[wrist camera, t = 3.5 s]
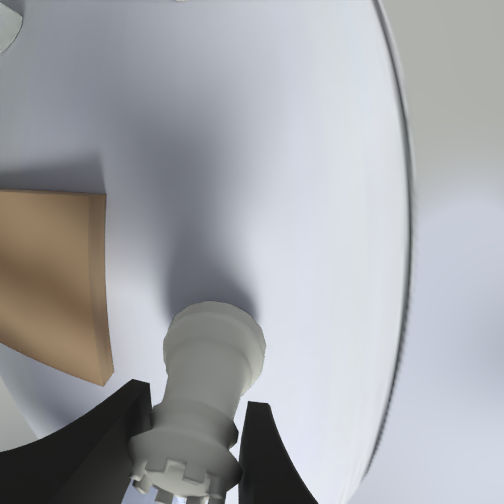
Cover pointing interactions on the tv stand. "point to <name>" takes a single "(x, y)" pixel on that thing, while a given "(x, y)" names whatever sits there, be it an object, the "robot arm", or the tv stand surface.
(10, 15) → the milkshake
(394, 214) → the tv stand surface
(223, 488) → the rook chess piece
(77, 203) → the walnut plinth
